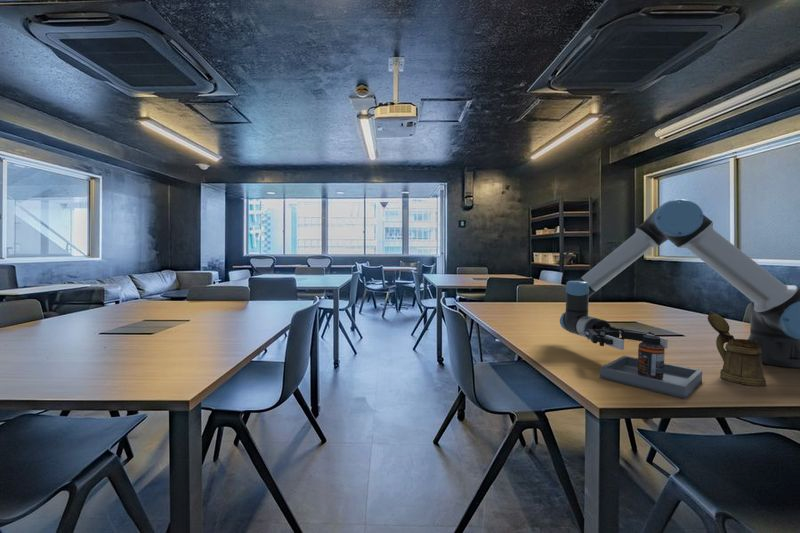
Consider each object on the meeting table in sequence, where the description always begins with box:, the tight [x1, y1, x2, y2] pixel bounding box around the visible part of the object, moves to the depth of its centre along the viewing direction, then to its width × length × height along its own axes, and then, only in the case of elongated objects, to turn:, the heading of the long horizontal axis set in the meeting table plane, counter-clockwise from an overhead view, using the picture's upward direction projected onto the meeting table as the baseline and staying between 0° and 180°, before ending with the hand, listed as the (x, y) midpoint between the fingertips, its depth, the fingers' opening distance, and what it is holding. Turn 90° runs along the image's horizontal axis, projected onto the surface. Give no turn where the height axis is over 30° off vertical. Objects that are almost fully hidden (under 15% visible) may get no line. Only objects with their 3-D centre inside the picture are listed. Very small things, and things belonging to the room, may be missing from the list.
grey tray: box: [599, 355, 703, 400], centre depth 98 cm, size 19×19×3 cm
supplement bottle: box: [637, 335, 665, 380], centre depth 98 cm, size 6×6×11 cm
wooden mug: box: [707, 310, 767, 387], centre depth 100 cm, size 9×14×18 cm, turn 11°
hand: (644, 344), depth 100 cm, fingers open, 13 cm apart
